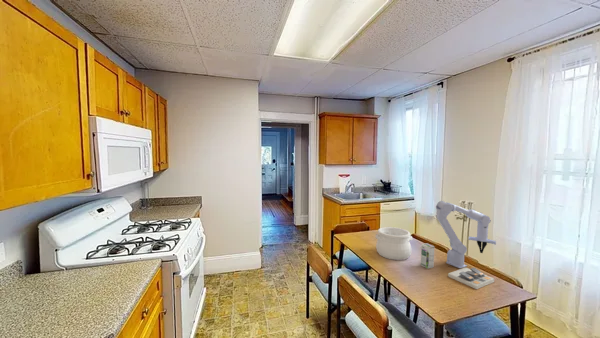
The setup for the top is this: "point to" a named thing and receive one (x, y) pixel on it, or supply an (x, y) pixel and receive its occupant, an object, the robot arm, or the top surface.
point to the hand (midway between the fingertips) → (481, 252)
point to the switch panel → (475, 282)
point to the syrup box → (427, 255)
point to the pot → (393, 243)
